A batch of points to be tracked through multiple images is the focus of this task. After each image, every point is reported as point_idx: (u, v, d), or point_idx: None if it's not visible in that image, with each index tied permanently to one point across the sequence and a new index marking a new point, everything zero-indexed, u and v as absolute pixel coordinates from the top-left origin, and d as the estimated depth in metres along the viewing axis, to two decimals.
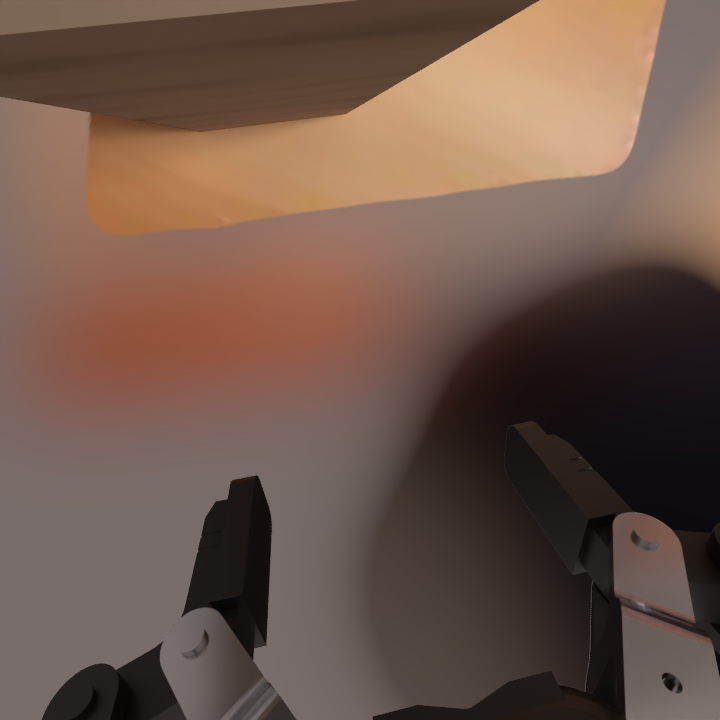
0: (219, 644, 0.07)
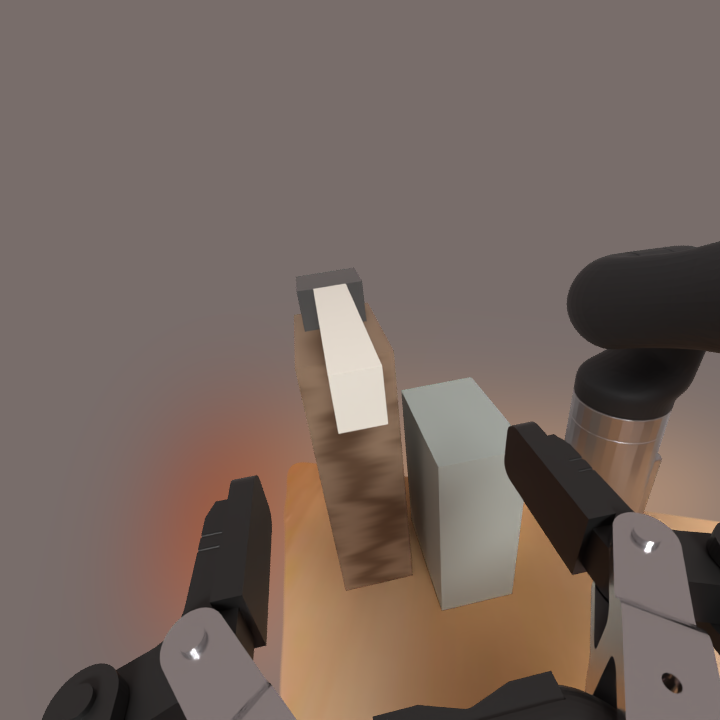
0: (219, 644, 0.07)
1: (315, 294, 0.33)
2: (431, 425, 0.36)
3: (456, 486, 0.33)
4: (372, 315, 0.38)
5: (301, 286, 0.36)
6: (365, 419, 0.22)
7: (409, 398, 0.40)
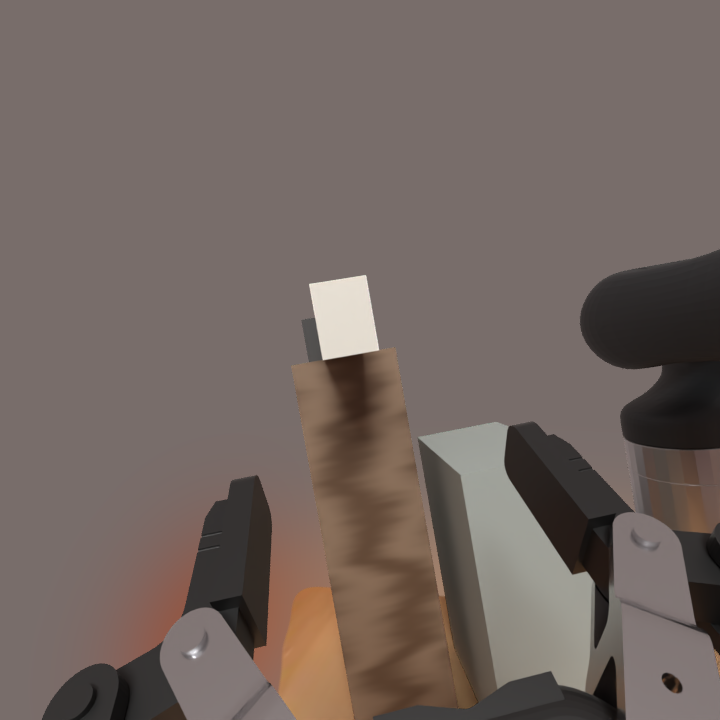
0: (219, 644, 0.07)
1: None
2: (452, 451, 0.30)
3: (489, 509, 0.25)
4: None
5: None
6: (353, 342, 0.20)
7: (427, 440, 0.35)
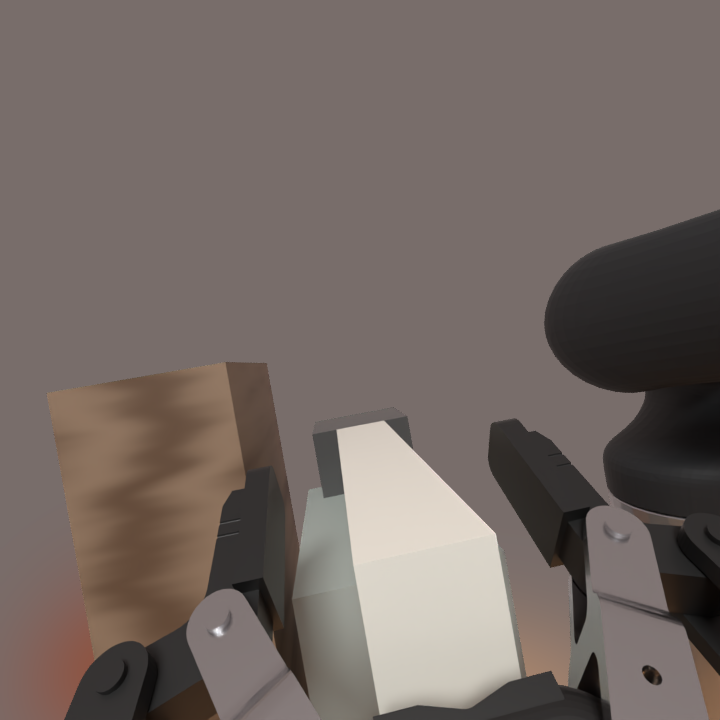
0: (243, 623, 0.07)
1: (339, 434, 0.22)
2: (326, 528, 0.19)
3: (347, 661, 0.14)
4: None
5: (320, 429, 0.25)
6: (464, 708, 0.08)
7: (315, 497, 0.24)
